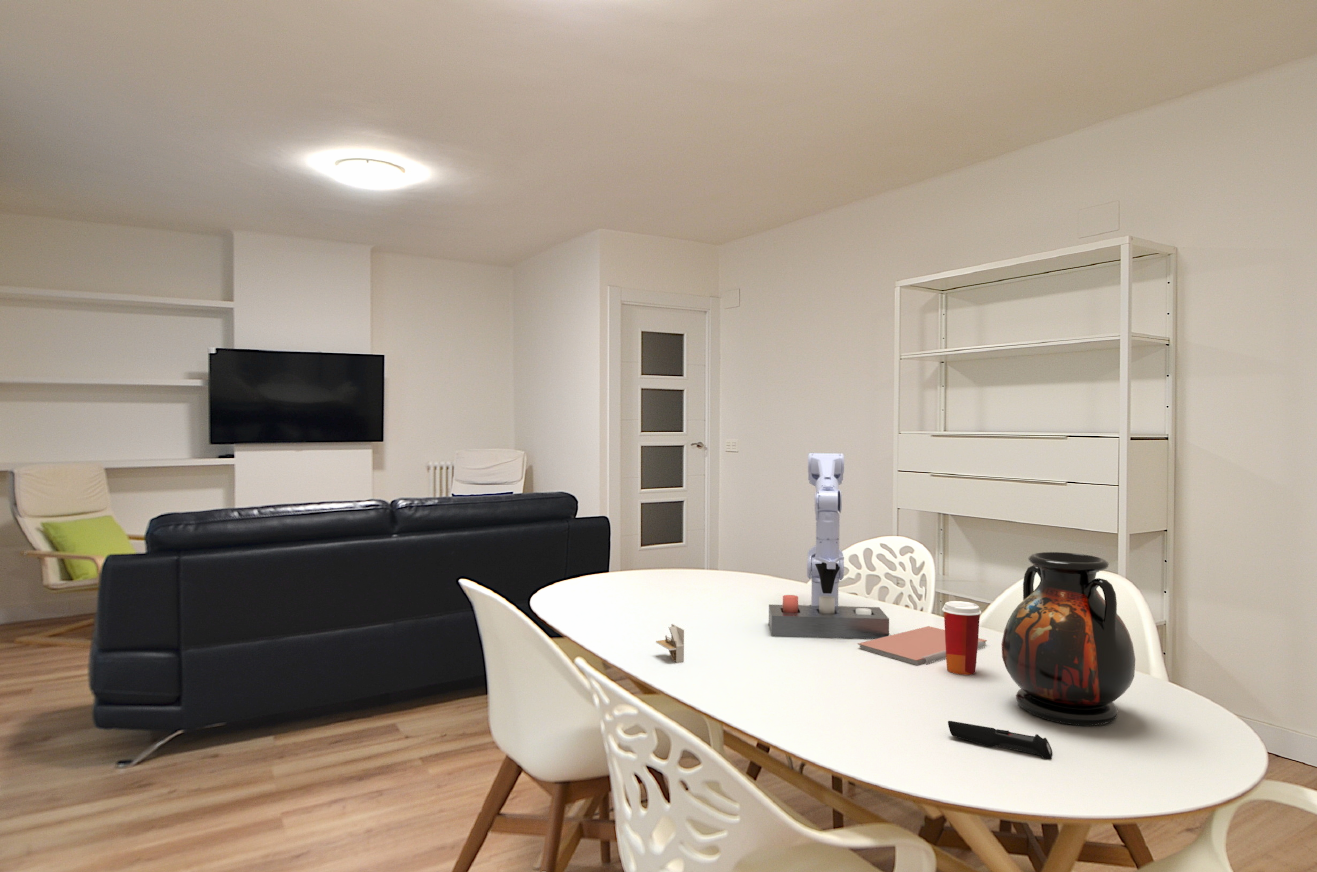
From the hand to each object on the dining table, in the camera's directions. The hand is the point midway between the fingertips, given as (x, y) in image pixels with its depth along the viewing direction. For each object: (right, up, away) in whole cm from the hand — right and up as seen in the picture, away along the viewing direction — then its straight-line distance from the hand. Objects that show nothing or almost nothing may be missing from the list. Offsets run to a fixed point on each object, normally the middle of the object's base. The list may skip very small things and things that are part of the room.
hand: (827, 592), depth 196 cm
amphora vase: (+32, -11, -54) cm, 63 cm away
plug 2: (+9, -9, -1) cm, 13 cm away
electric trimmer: (+13, -11, -70) cm, 72 cm away
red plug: (-9, -6, +1) cm, 11 cm away
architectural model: (-39, -11, -24) cm, 46 cm away
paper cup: (+22, -11, -31) cm, 39 cm away
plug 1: (0, -6, 0) cm, 6 cm away
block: (0, -10, 0) cm, 10 cm away
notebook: (+20, -11, -13) cm, 26 cm away
